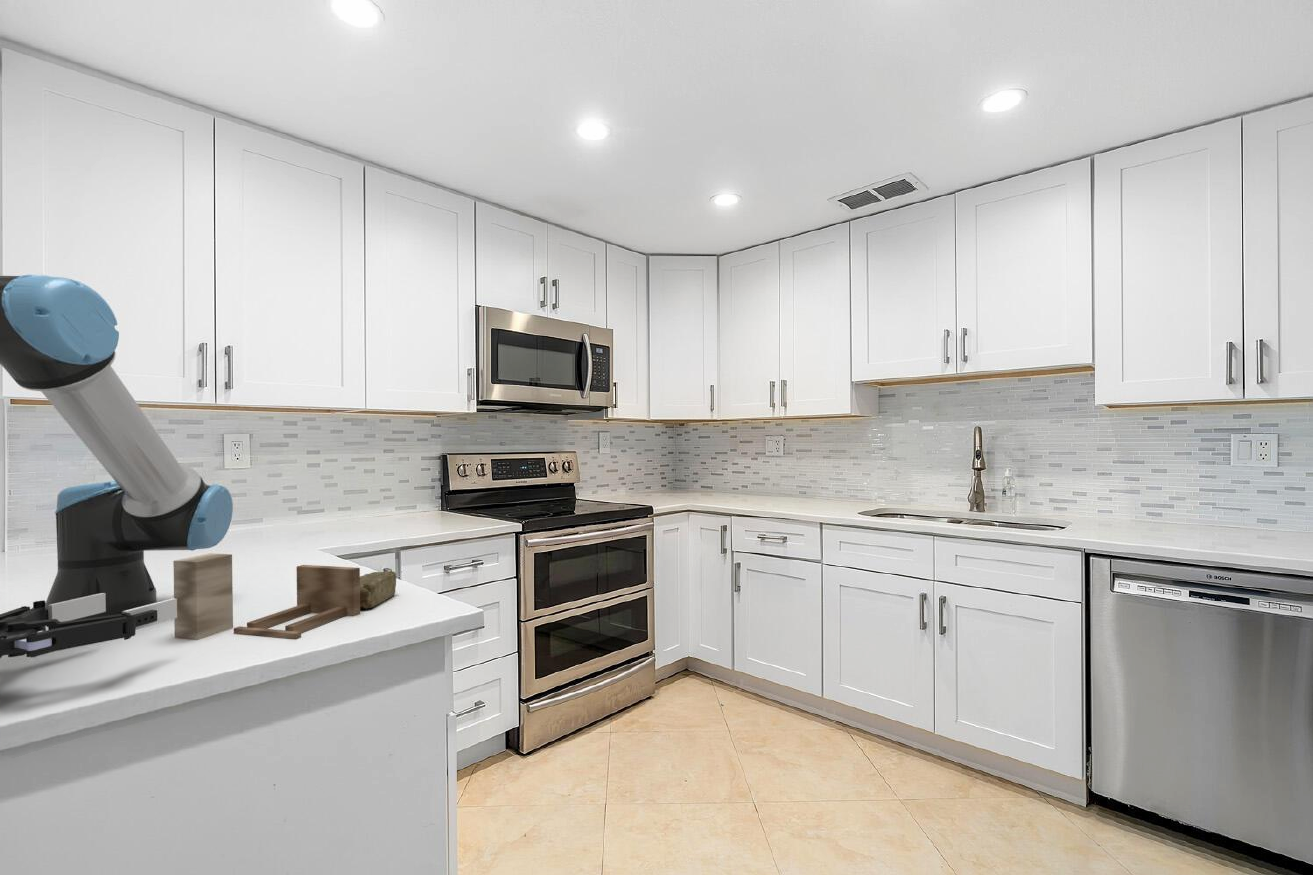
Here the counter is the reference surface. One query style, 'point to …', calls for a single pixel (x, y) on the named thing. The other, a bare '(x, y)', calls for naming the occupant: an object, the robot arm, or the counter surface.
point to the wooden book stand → (313, 602)
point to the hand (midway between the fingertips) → (139, 604)
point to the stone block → (376, 588)
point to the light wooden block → (203, 595)
